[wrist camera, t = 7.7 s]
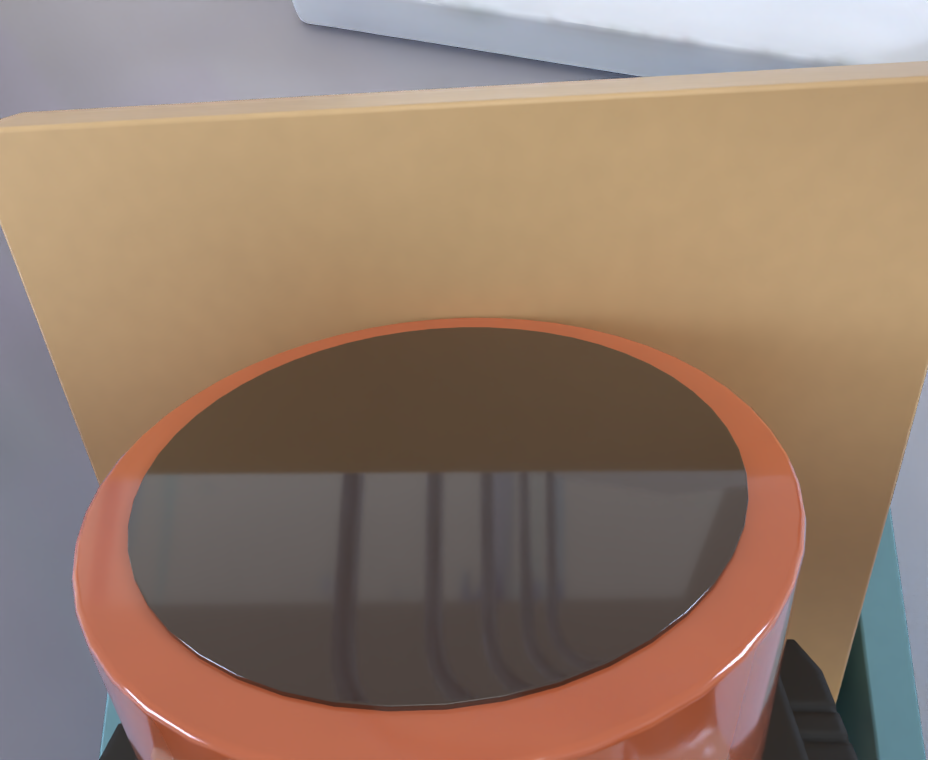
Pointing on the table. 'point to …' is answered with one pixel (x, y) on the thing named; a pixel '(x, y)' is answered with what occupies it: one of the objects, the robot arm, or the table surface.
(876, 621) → the tray
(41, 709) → the table surface
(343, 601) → the orange cylinder
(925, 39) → the file sorter
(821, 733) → the robot arm
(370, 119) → the wooden stand
